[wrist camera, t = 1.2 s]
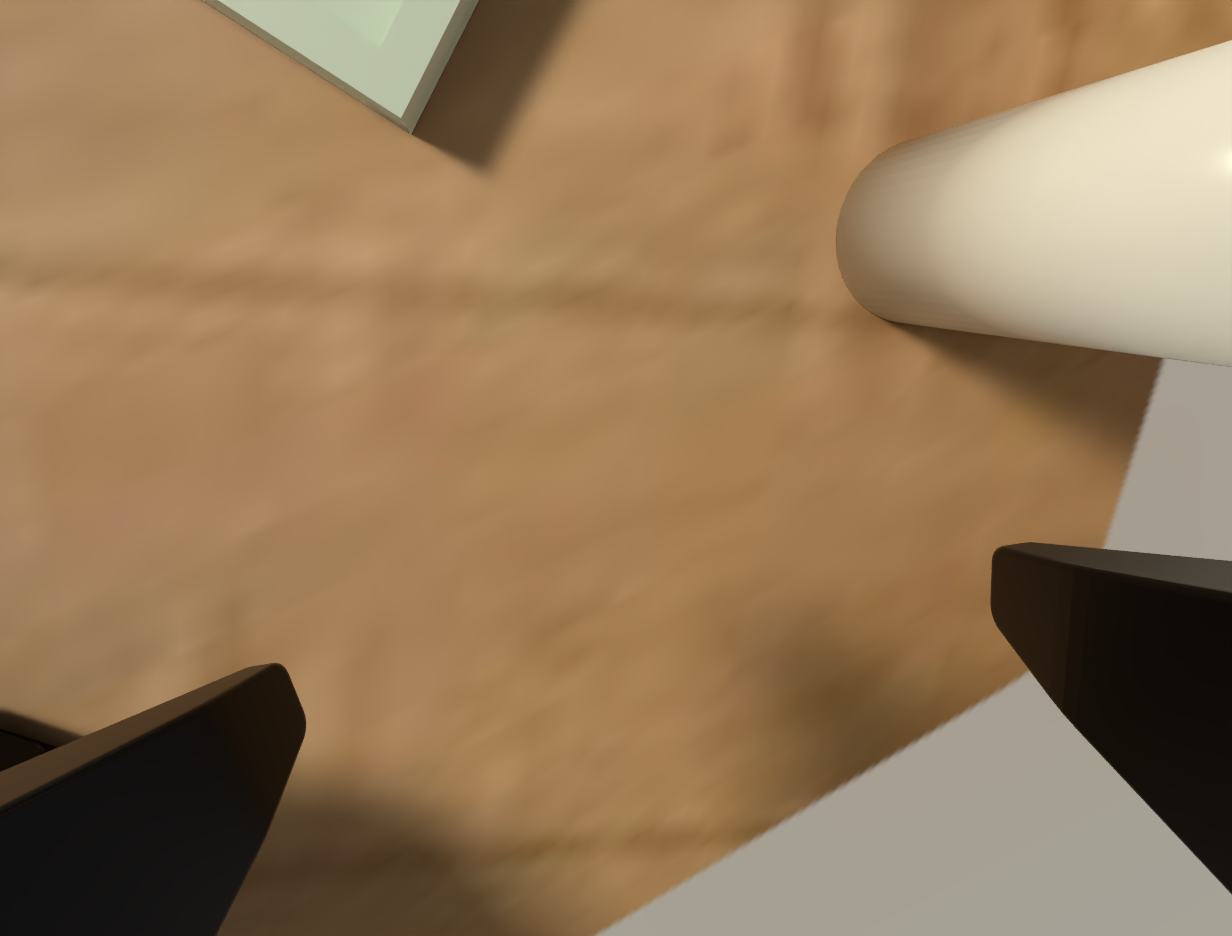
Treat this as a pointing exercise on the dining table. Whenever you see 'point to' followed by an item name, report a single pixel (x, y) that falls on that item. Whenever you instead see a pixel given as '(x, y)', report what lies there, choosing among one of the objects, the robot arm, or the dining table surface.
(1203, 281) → the white rounded tapered cylinder
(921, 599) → the dining table surface
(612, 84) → the dining table surface
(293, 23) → the tray
